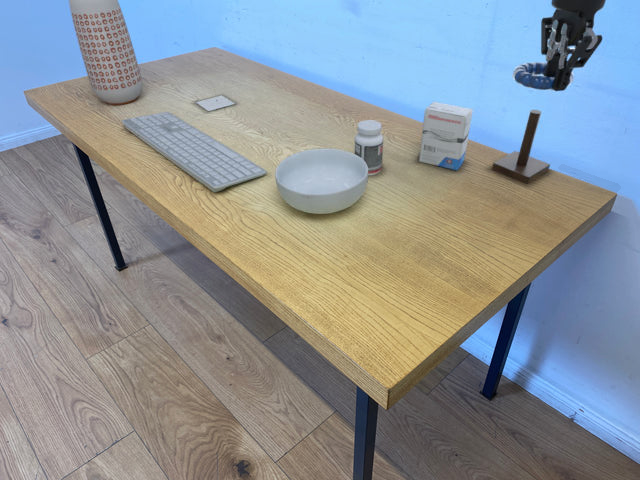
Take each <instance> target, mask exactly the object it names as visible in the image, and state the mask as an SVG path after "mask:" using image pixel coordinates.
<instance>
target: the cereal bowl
mask: <svg viewBox="0 0 640 480" xmlns="http://www.w3.org/2000/svg"><path fill="white" fill-rule="evenodd" d="M274 178H275V185H276V188H277V191H278V194H279V195H280V196H281V198H282V200H283V201H284V202H285V203H286V204H287V205H289V206H290V207H292V208H294V209H296V210H297V211H300V212H304V213H306V214H307V213H308V214H317V215H319V214H320V215H323V214H325V215H326V214H332V213H336V212H340V211H343V210H346V209H347V208H349V207H351V206H353V205H354V204H355V203H357V202H358V201H359V200H360V198H361V197H363V195H364V193H365V191H366V189H367V186H368V182H369V175H368V166H367V164H366V162H365V161H364V160H363V159H362V158H360V157H359V156H357V155H355V153H353V152H350V151H347V150H343V149H340V148H339V149H338V148H329V147H328V148H326V147H325V148H324V147H323V148H311V149H306V150H301V151H298V152H296V153H292V154H291V155H289V156H287V157H285V158H284V159H283V160H281V161H280V162H279V164H278V165H277V167H276V169H275V172H274Z"/></svg>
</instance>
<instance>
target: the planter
mask: <svg viewBox="0 0 640 480" xmlns="http://www.w3.org/2000/svg"><path fill="white" fill-rule="evenodd" d="M68 4H69V9H70V10H69V11H70V14H71V19H72V23H73V28H74V31H75V36H76V40H77V42H78V43H77V44H78V45H79V46H78V47H79V50H80V54H81V57H82V61H83V65H84V68H85V71H86V74H87V78H88V81H89V85H90V86H91V89H92V91H93V93H94V94H95V96H97V98H99V99H100V100H101V101H103V102H104V103H105V104H107V105H110V106H122V105H127V104H131V103H133V102H135V101H136V100H138V97H139V95H140V94H141V92H142V89H143V79H142V74H141V70H140V67H139V64H138V60H137V55H136V52H135V48H134V46H133V42H132V39H131V35H130V33H129V30H128V25H127V23H126V19H125V17H124V13H123V11H122V7H121V5H120V2H119V0H68Z"/></svg>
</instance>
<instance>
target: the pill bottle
mask: <svg viewBox="0 0 640 480" xmlns="http://www.w3.org/2000/svg"><path fill="white" fill-rule="evenodd" d="M382 127H383V126H382V123H381V122H380V121H377V120H374V119H365V120H361V121H359V122H358V123H357V129H356V130H357V134H356V135H355V137H354V154H355V155H357V156H359V157H360V158H362V159H363V160H364V161H365V162H366V164H367V166H368V176H375V175H377V174H379V173H380V172H381V171H382V169H383V155H384V136H383V134H382Z"/></svg>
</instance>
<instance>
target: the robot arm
mask: <svg viewBox="0 0 640 480" xmlns="http://www.w3.org/2000/svg"><path fill="white" fill-rule="evenodd" d="M606 1H607V0H551V2H550V3H551V6H552V8H554V9H555V10H554V12H553V13H552V15H551V16H548V17H543V18H542V19H541V22H540V25H541V26H540V32H541V33H540V53H541V56H545V62H546V63H547V65H546V69H545V73H544V75H543V76H546V77H555V79H554V82H553V86H552V89H553V90H552V91H554V92H563V91H565V90H567V87H569V86H568V83H569V79H570V76H571V73H572V72H573V70H574V69H580V68H584V67H585V65H586V64H587V62H588V61H589V60H590V59H591V58H592V56H593V54H594V53H595V52H596V50H597V49H598V47H599V46H600V45H601V43H602V42H603V36H602V34H596V33H595V32H594V30H593V29H594V26H595V16H596V13H598V12H599V11H601V10H602V9H603V8H604V7H605V4H606ZM569 55H570V57H569V58H568V56H569Z"/></svg>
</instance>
